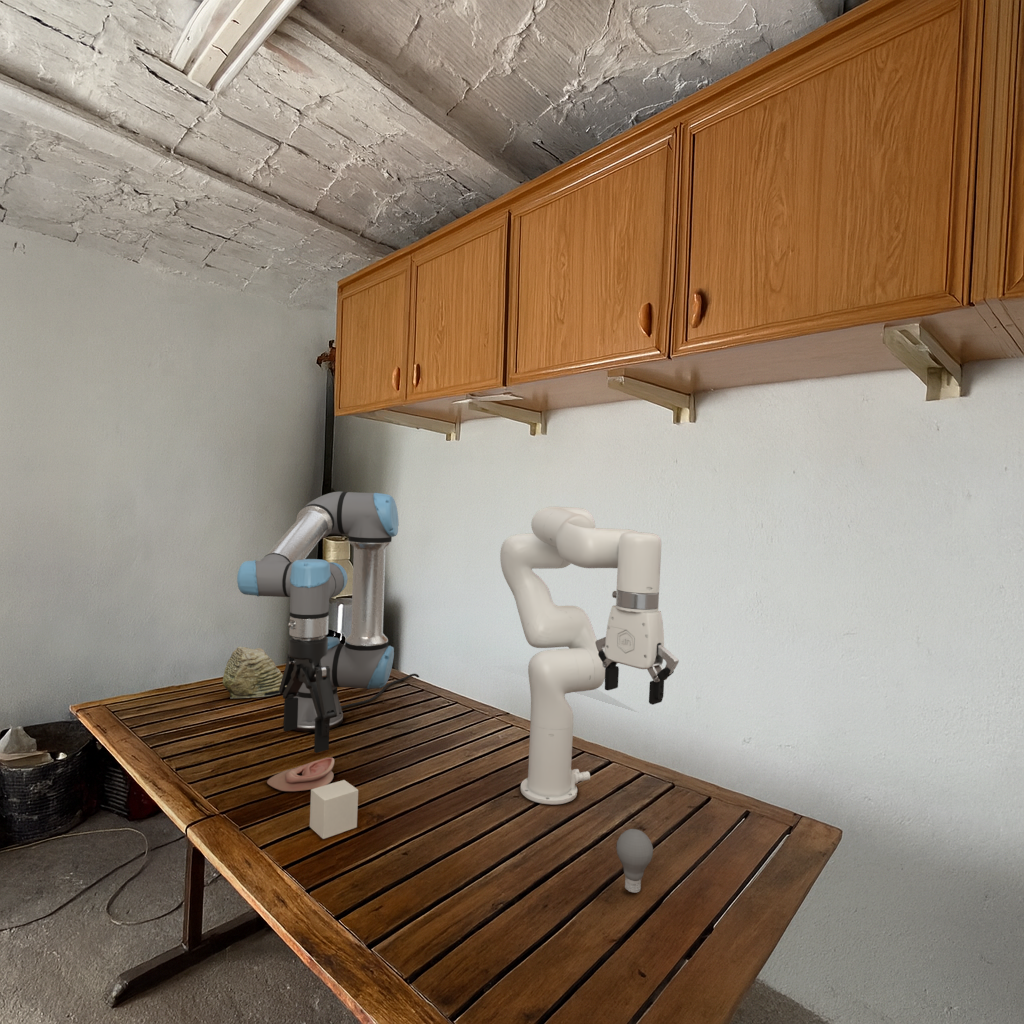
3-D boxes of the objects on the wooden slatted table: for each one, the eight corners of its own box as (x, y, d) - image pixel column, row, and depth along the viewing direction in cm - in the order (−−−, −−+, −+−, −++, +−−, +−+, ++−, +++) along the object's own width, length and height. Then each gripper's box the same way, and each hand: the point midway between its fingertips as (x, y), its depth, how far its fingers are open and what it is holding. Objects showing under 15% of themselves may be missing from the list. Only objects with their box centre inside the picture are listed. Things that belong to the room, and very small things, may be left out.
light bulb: (610, 879, 108) (613, 822, 108) (644, 879, 109) (647, 822, 109) (619, 902, 102) (622, 840, 102) (655, 901, 103) (658, 840, 103)
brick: (309, 826, 122) (310, 789, 121) (342, 815, 126) (344, 779, 126) (323, 839, 117) (324, 800, 117) (357, 827, 122) (358, 789, 122)
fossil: (218, 695, 195) (220, 647, 195) (278, 685, 208) (279, 640, 207) (228, 703, 189) (230, 653, 188) (289, 692, 201) (290, 645, 201)
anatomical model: (259, 769, 136) (288, 749, 147) (258, 787, 136) (288, 766, 147) (316, 777, 133) (341, 756, 145) (315, 796, 133) (340, 773, 145)
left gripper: (264, 627, 134) (261, 725, 135) (321, 652, 116) (317, 765, 117) (298, 622, 140) (295, 717, 140) (357, 646, 122) (353, 755, 123)
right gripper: (586, 595, 117) (582, 687, 118) (666, 610, 105) (661, 713, 105) (611, 593, 123) (607, 680, 123) (691, 606, 110) (686, 704, 110)
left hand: (305, 739), depth 129 cm, fingers open, 13 cm apart
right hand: (632, 695), depth 114 cm, fingers open, 9 cm apart
